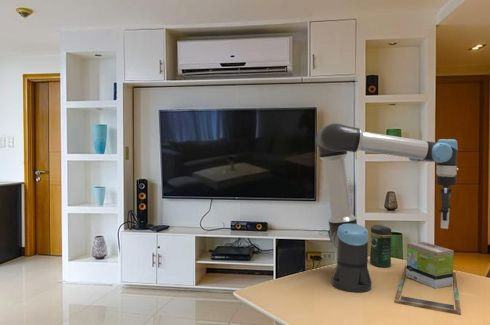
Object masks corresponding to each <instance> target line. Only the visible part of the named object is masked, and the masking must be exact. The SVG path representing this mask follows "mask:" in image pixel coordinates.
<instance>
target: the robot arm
mask: <svg viewBox="0 0 490 325" xmlns="http://www.w3.org/2000/svg"><path fill="white" fill-rule="evenodd" d="M315 145H316V147H317V149H318V156H319V159H320V160H321V161H322V162H323V166H324V173H325V178H326V186H327V193H328V201H329V207H330V213H331V214H330V217H329V219H328V226H329V230H328V237H329V241H330V242H331V244H332V245H333V246H334V247H335V248H336V266H335V268H334V271H333V274H332V277H331V285H332V286H333V287H335V288H336V289H338V290H341V291H345V292H350V293H353V292H354V293H363V292H364V293H365V292H368V291H370V290H372V284H373V283H372V282H373V281H372V278H371V275H370V272H369V268H368V265H369V264H368V263H369V262H368V259H369V258H368V257H369V256H368V255H369V239H370V238H369V231H368V229H367V228H366V227H365V226H363V225H361V224H360V225H359V224H358V223H357V222H358V221H357V217H356V216H355V215H354V214H353V212H352V205H351V198H350V192H349V185H348V184H349V183H348V177H347V169H346V163H345V162H346V161H345V158H346V157H347V156H348V152H349V153H350V152H351V153H357V152H358V151H361V152H367V153H368V152H369V153H375V154H380V155H381V154H382V155H387V156H394V157H400V158H407V159H408V160H409V161H411V162H428V163H431V162H432V163H436V181H435V182H436V185H438V186H442V188H441V189H440V199H441V209H439V211H438V212H439V213H440V229H446V230H448V229H449V224H450V209H452V206H451V204H450V200H451V195H452V189H451V186H452V187H453V186H454V187H455V186H456V185H457V172H458V171H459V167H458V151H459V149H458V140H456V139H454V138H451V139H450V138H449V139H445V138H442V139H441V138H440V139H437V142H436V141H435V142H434V141H429V140H423V139H416V138H409V137H403V136H401V137H400V136H395V135H390V134H381V133H375V132H371V131H370V132H368V131H363V130H362V129H361V128H359V127H354V126H349V125H345V124H341V123H336V122H335V123H329V124H327V125H324V126H321V128H320V129H319V130H318V131H317V132H316V135H315Z"/></svg>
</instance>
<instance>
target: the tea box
mask: <svg viewBox="0 0 490 325" xmlns="http://www.w3.org/2000/svg"><path fill="white" fill-rule="evenodd" d="M406 245H407V247H406V266H407V269H406V276H405V277H406V278H409V279H412V280H414V281H416V282H419V283H421V284H423V285H426V286H428V287H430V288H432V289H434V288H435V290H436V289H443V288H447V287H452V286H453V272H454V258H455V257H454V255H455V254H454V253H455V250H453V249H449V248H448V247H447V248H446V247H443V246H439V245H436V244H432V243H430V242H427V241H419V242H413V243H412V242H411V243H406Z"/></svg>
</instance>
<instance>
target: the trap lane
mask: <svg viewBox="0 0 490 325" xmlns="http://www.w3.org/2000/svg"><path fill="white" fill-rule="evenodd" d="M406 269H407V264H406V265H404V267H403V270H402V274H401V277H400V279H399V283H398V286H397V288H396V293H395V296H394V299H393V303H395V304H400V305H405V306H410V307H411V306H412V307H415V308H416V307H417V308H421V309H427V310H432V311H438V312H444V313H448V314H455V315H461V316H462V310H461V304H460V293H459V288H458V282H457V281H458V280H457V275H456V271H455V272H454V271H453V282H452V286H453V293H454V295H453V296H454V302H455V304H449V303H444V302H438V301H432V300H428V299H427V300H426V299H420V298H415V297H409V296H404V295H403V296H402V295H401V293H402V290H403V287H404V283H405V279H406V277H407V276H406ZM400 296H401V297H400ZM454 305H455V306H454Z"/></svg>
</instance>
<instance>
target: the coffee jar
mask: <svg viewBox="0 0 490 325" xmlns="http://www.w3.org/2000/svg"><path fill="white" fill-rule="evenodd" d="M392 236H393V235H392V229H391V228H390V227H387V226H385V225H382V224H372V226H371V227H370V238H371V239H370V240H371V241H370V253H369V263H370V264H371V265H374V266H376V267H382V268H387V267H391V265H392V259H391V257H392V255H391V248H392V247H391V242H392Z"/></svg>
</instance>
